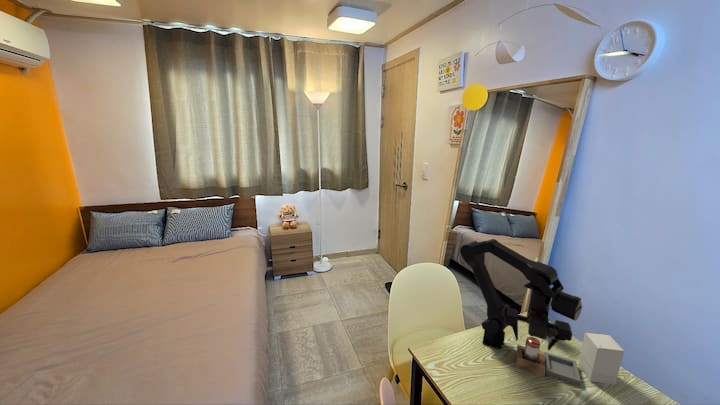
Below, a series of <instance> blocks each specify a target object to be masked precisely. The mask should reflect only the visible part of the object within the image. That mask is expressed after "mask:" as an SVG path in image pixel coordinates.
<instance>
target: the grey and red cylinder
mask: <svg viewBox="0 0 720 405" xmlns="http://www.w3.org/2000/svg"><path fill="white" fill-rule="evenodd" d="M524 346H525V351H524V356H522V359H525V360H528V361H532V362H535V363H538V361H537V359H538V354H539V351H540V348H541V341H540V340H539V338H537V337H533V336H528V337H526V340H525V345H524Z"/></svg>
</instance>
